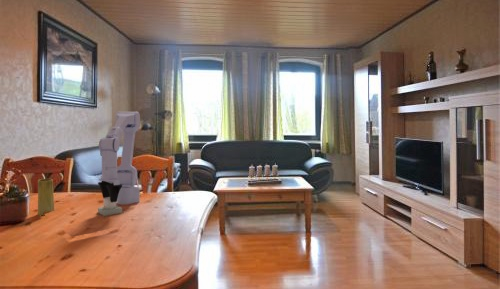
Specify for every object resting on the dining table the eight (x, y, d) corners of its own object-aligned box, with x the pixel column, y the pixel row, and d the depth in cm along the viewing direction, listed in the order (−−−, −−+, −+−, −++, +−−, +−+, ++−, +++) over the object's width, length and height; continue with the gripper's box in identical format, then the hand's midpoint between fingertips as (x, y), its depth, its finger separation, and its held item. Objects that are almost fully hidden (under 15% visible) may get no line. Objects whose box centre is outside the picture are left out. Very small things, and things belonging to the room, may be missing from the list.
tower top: (115, 209, 134) (115, 204, 134) (121, 212, 129) (121, 207, 129) (98, 212, 129) (97, 207, 129) (104, 216, 124) (104, 211, 124)
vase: (46, 216, 128) (45, 181, 127) (33, 215, 129) (32, 180, 128) (58, 212, 134) (57, 178, 133) (45, 211, 135) (45, 178, 134)
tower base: (116, 213, 135) (116, 209, 135) (124, 217, 130) (124, 212, 129) (96, 217, 130) (96, 212, 129) (104, 221, 124) (104, 216, 124)
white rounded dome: (113, 205, 133) (113, 196, 132) (118, 207, 129) (118, 198, 129) (101, 207, 129) (101, 197, 129) (106, 209, 126) (105, 199, 126)
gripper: (92, 166, 131) (93, 198, 131) (106, 169, 120) (106, 205, 121) (110, 165, 136) (110, 196, 136) (124, 168, 125) (125, 202, 126)
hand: (110, 200), depth 129 cm, fingers open, 7 cm apart
